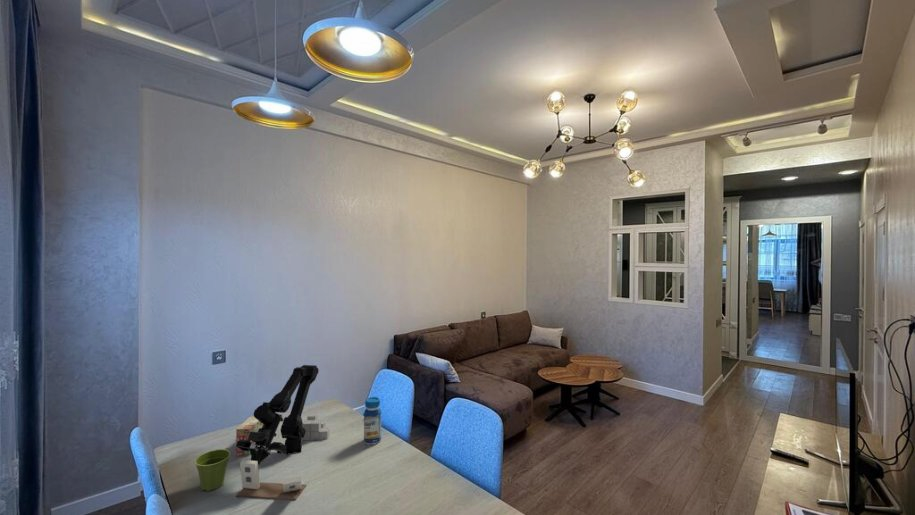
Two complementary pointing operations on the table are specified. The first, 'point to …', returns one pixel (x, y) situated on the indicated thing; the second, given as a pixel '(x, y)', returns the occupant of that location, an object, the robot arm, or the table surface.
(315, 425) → the puzzle cube
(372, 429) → the beverage bottle
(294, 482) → the tile
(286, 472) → the table surface
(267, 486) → the tile board
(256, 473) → the tile
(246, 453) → the stack of blocks
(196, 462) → the plant pot
